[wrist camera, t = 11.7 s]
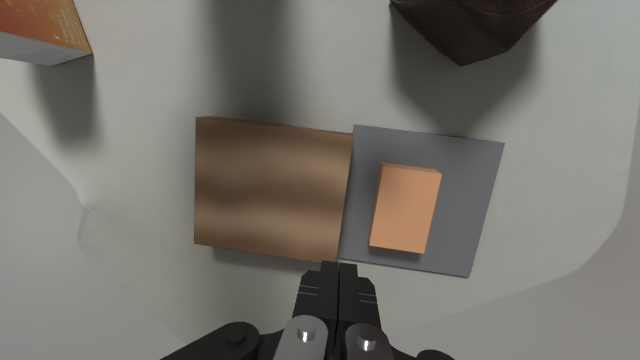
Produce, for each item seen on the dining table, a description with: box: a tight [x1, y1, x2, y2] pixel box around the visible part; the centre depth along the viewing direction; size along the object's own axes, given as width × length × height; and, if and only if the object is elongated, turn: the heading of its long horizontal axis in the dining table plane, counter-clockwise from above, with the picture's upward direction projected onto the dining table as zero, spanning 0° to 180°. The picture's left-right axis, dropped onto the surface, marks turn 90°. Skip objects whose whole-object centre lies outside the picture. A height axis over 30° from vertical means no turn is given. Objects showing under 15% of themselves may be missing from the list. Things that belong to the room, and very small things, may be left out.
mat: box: [337, 125, 505, 277], centre depth 34 cm, size 16×16×1 cm
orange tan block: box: [368, 162, 442, 254], centre depth 33 cm, size 9×6×2 cm, turn 173°
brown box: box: [194, 116, 354, 263], centre depth 33 cm, size 14×16×4 cm
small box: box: [0, 0, 92, 66], centre depth 28 cm, size 8×6×10 cm
